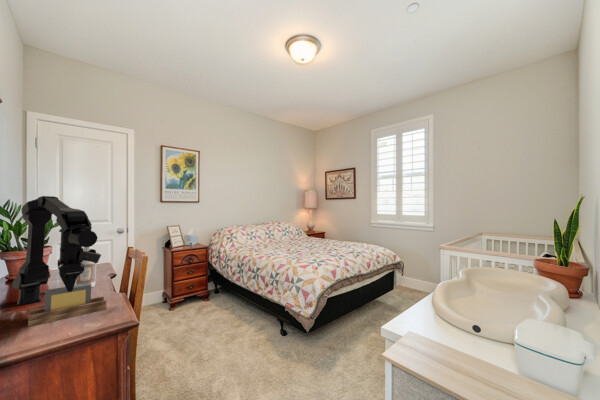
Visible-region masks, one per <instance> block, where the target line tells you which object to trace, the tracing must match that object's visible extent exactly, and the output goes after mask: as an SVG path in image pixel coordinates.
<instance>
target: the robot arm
mask: <svg viewBox="0 0 600 400" xmlns="http://www.w3.org/2000/svg"><path fill="white" fill-rule="evenodd" d="M21 214H22V219H23V220H24V221H25V223H26V224H27V226H28V228H27V238H26V239H27V240H26V254H25V261H24V263H23V264H22V265H21V266H19V269H18V273H17V274H16V276H15V278H14V279H13V281H12V284H11V285H12V289H14V290H19V291H18V292H19V293H18V295H19V296H18V299H17V303H16V306H21V305H28V304H32V303H33V304H34V303H37V302H42V296H41V285H47V284H48V282H49V277H50V274H51V272H50V270H49V268H50V266H49V265H48V264H47V263H46V262H45V261H44V253H45V252H44V250H45V248H44V247H45V236H46V235H45V234H46V225H47V224H48V223H49V222H50V221H51V220H52V217H53V215H54V216H55V217H56V219H55V222H56V223H57V225H59V227H60V229H59V230H58V231H59V233H60V247H59V258H58V259H57V263H56V265H57V269H58V274H59V277H60V278H61V281H62V282H63V285H64V287H66V289H67V291H68V292H72V291H73V288H74V286H75V284H76V279H77V276H79V275H80V274H81V273H83V271H84V264H82V263H81V262H83V260H84V261H90V262H93V263H96V264H98V263H99V260H100V258H101V257H102V254H100V253H98V252H97V250H96V249H90V250H89V251H84V247H90V246H92V247H93V246H94V245H95V244H96V243H97V240H98V236H97V233H96V232H95V231H93V230H92V228H93V227H92V224H93V223H92V222H91V221H90V219H89V216H88V215H87V213H86V211H84V210H81V209H78V208H72V207H70V206H68V204H66V203H64V202H63V201H61V200H60V199H59V197H56V196H53V195H52V196H51V195H43V196H38V198H36V199H33V200H30V201H27V202H26V203H25V204H24V205H22V206H21Z"/></svg>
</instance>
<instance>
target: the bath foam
mask: <svg viewBox="0 0 600 400" xmlns="http://www.w3.org/2000/svg"><path fill="white" fill-rule="evenodd" d="M92 247H93V245H92V246H90V247H83V251H89V250H90V249H92ZM81 263H82V264H84V271H83V273H81V274H80V275H79V276H77V279H76V282H75V284H76V285H81V284H88V283H90V284H91V289H92V288H94V287H95V286H96V277H97V276H96V275H97V263H93V262H90V261H84V260H83V262H81Z"/></svg>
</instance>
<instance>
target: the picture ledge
mask: <svg viewBox="0 0 600 400" xmlns="http://www.w3.org/2000/svg"><path fill="white" fill-rule="evenodd" d="M104 298H105V297H104V295H103V296H98V297H91V302H90V303H88V304H83V305H78V306H73V307H68V308H63V309H58V310H53V311H49V312H44V307H41V308H40V307H39V308H35V309H29V310H28V311H29V312H28V314H29V315H28V320H27V321H28V322H27V323H28V324H27V327H28V328H29V327H32V326H33V327H34V326H38V325H42V324H45V323H51V322H55V321H60V320H63V319H65V320H66V319H68V318H73V317H79V316H83V315H87V314H91V313H95V312H100V311H104V310H107V300H106V299H104Z"/></svg>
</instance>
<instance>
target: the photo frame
mask: <svg viewBox="0 0 600 400" xmlns="http://www.w3.org/2000/svg"><path fill="white" fill-rule="evenodd" d="M44 291H45V292H44V307H43V308H44V312H49V311H53V310H58V309H63V308H68V307H73V306H78V305H83V304H88V303H90V302H91V298H92V288H91V284H90V283H88V284H81V285H74V288H73V291H72V292H68V291H67V289H66V287H65V286H63V287H58V288H51V289H45V290H44Z"/></svg>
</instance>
